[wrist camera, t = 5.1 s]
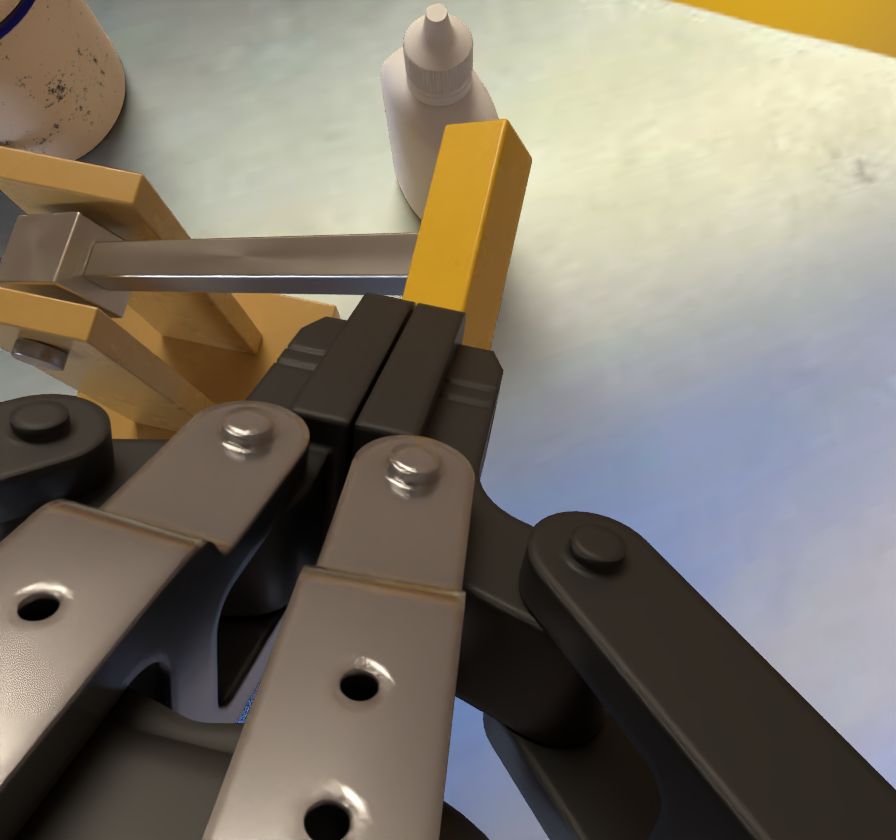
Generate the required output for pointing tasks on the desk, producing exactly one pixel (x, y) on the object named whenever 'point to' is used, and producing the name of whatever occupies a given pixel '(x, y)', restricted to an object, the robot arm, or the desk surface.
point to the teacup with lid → (56, 78)
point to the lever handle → (309, 247)
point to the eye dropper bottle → (430, 97)
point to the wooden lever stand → (139, 312)
